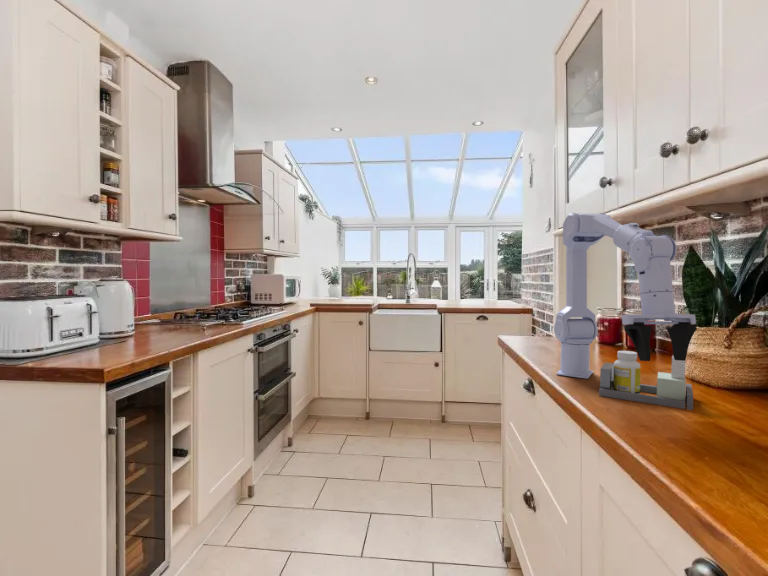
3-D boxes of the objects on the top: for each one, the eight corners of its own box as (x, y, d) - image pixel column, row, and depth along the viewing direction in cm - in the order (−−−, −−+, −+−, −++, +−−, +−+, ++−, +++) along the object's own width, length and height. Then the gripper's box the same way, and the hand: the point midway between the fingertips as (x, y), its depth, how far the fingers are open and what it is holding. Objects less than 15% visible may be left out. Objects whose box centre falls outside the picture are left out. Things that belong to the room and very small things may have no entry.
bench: (605, 385, 105) (605, 361, 104) (690, 397, 95) (691, 371, 95) (598, 395, 96) (599, 369, 95) (692, 410, 86) (693, 381, 86)
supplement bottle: (632, 391, 100) (634, 350, 99) (644, 397, 94) (645, 354, 94) (609, 390, 100) (610, 349, 100) (619, 396, 95) (620, 354, 95)
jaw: (657, 393, 97) (658, 352, 96) (684, 397, 94) (685, 355, 94) (656, 400, 91) (658, 357, 91) (684, 405, 88) (686, 360, 88)
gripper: (636, 290, 81) (642, 361, 79) (705, 291, 82) (713, 361, 81) (613, 294, 88) (618, 360, 86) (677, 295, 89) (683, 359, 87)
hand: (662, 360), depth 84 cm, fingers open, 7 cm apart
